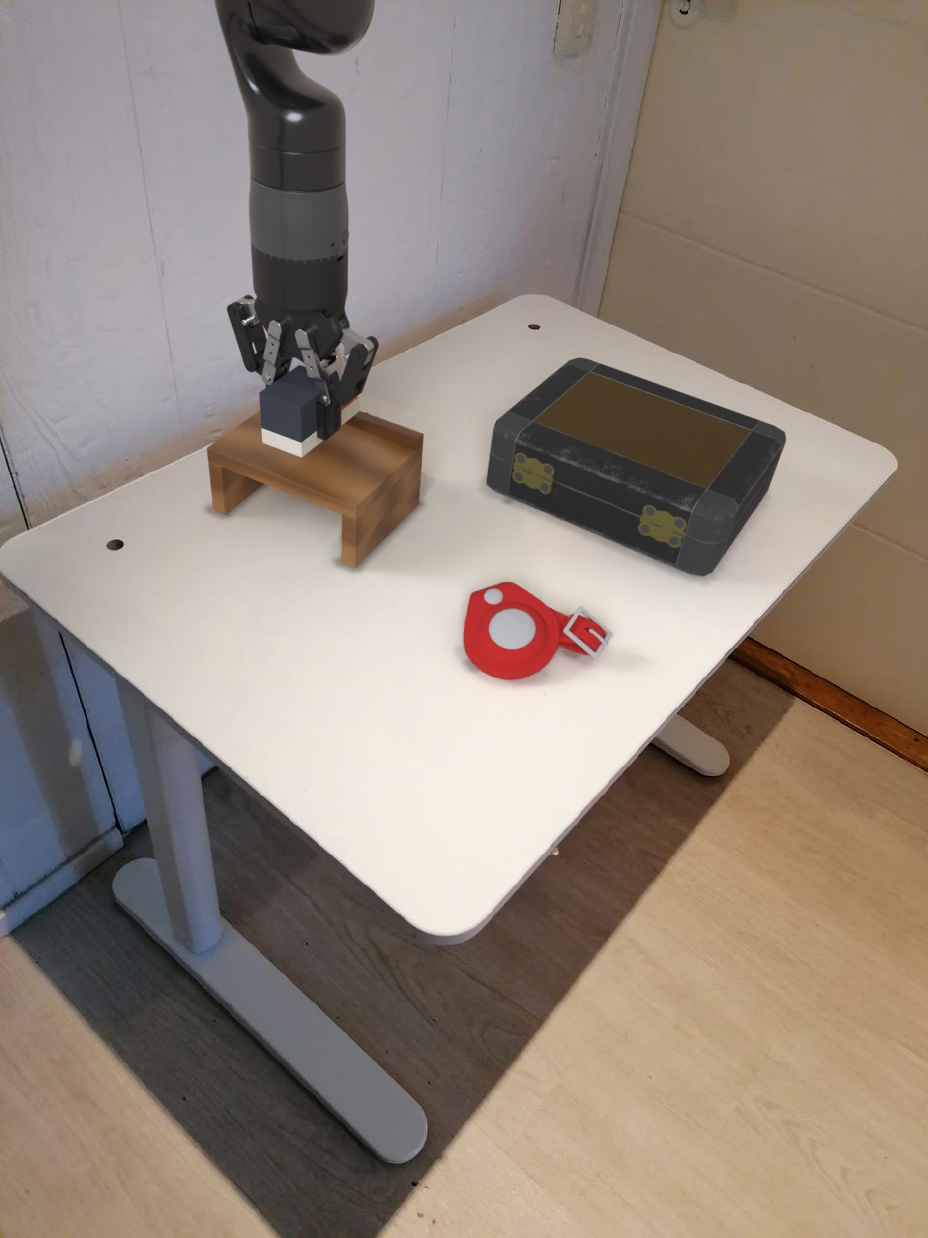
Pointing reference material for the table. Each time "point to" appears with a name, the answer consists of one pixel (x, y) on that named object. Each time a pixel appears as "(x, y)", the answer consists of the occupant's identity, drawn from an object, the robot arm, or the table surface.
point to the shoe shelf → (328, 476)
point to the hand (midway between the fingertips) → (304, 426)
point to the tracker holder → (524, 632)
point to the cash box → (635, 462)
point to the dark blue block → (294, 413)
